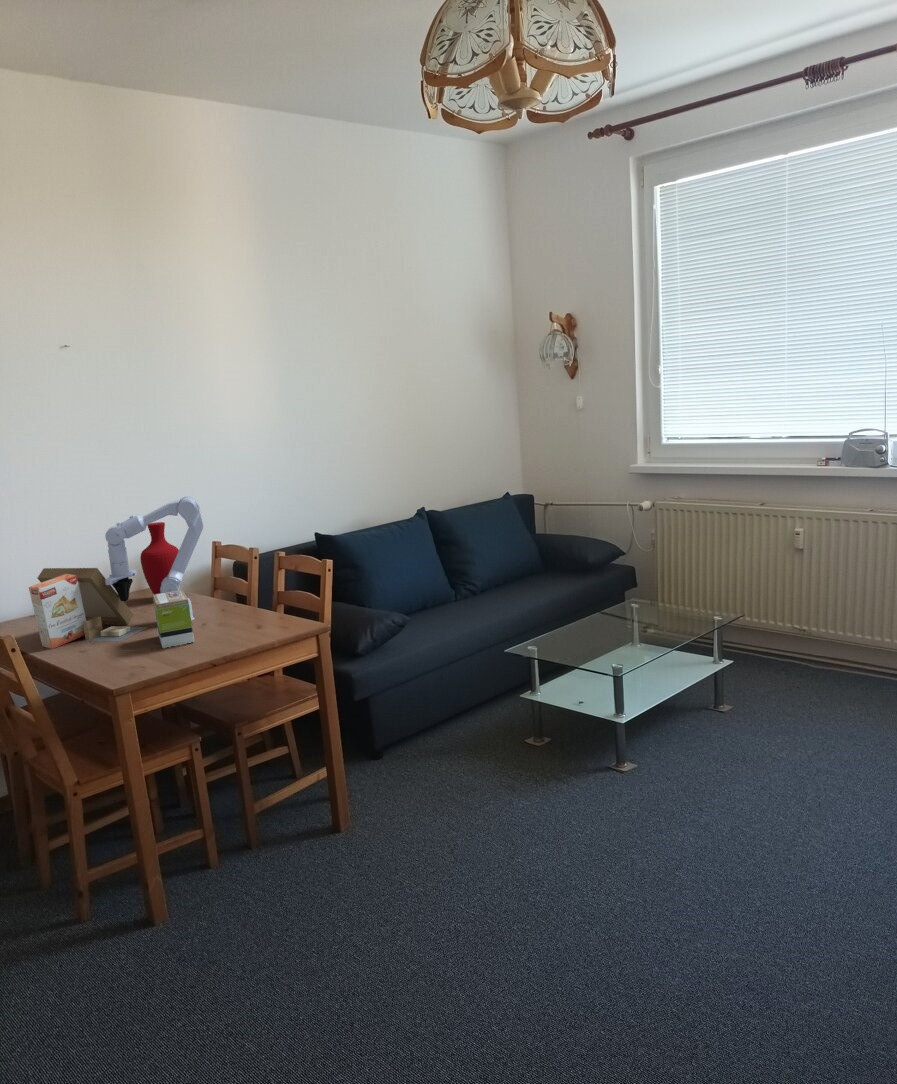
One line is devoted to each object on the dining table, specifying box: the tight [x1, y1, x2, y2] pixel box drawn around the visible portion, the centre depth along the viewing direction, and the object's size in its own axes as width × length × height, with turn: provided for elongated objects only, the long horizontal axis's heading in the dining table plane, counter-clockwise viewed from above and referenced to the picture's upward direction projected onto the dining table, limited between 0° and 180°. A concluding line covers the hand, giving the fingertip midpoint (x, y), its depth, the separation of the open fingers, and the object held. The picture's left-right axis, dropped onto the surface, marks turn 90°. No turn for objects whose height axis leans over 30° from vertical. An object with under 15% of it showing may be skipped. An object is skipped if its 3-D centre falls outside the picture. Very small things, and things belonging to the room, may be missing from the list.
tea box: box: [152, 589, 195, 649], centre depth 271 cm, size 15×10×15 cm
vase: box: [140, 521, 180, 595], centre depth 329 cm, size 15×15×30 cm
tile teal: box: [100, 625, 131, 636], centre depth 284 cm, size 7×2×6 cm
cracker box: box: [28, 574, 86, 650], centre depth 276 cm, size 14×6×21 cm, turn 148°
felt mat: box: [82, 626, 149, 643], centre depth 284 cm, size 14×16×1 cm
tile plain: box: [83, 616, 104, 640], centre depth 282 cm, size 7×2×6 cm, turn 165°
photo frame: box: [36, 567, 134, 625], centre depth 291 cm, size 15×22×25 cm
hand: (124, 600), depth 289 cm, fingers closed
